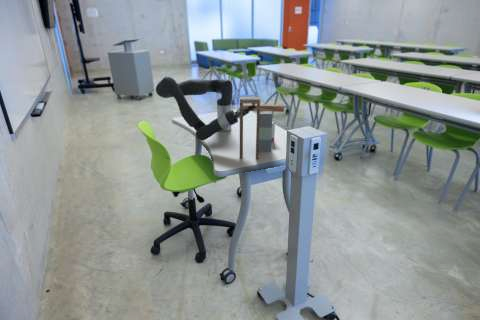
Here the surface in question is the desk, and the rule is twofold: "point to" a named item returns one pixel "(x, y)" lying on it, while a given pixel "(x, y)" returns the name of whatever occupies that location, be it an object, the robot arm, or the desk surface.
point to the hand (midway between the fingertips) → (255, 105)
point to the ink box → (273, 131)
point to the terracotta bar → (267, 107)
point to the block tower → (265, 131)
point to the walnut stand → (242, 100)
